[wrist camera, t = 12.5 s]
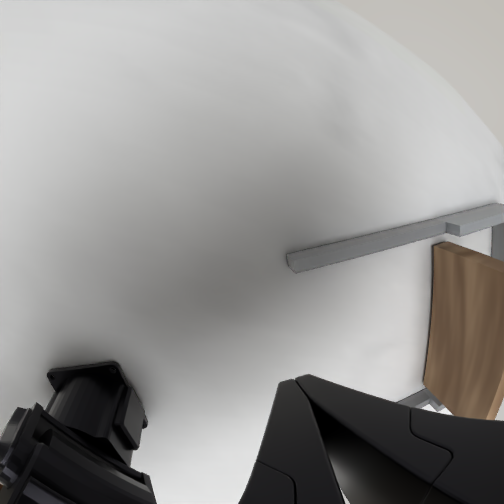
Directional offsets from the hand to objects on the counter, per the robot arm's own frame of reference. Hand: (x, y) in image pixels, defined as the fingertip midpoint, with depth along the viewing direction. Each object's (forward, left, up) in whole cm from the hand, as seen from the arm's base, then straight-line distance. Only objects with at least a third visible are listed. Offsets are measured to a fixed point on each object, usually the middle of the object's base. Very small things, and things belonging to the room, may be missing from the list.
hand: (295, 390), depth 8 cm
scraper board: (+15, -9, -12) cm, 21 cm away
